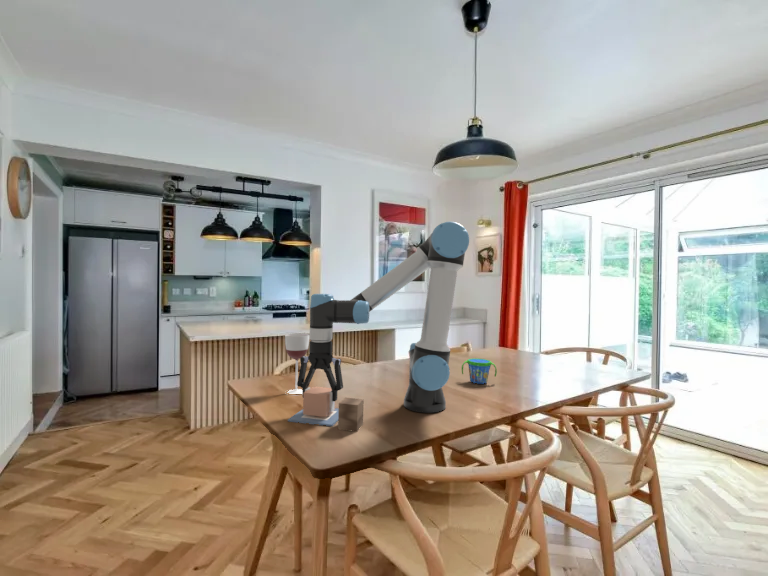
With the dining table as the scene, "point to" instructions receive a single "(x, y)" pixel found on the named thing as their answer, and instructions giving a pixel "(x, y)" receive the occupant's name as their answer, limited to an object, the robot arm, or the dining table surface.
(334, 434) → the dining table surface
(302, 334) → the wineglass
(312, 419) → the board
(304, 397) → the terracotta base
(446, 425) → the dining table surface
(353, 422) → the walnut column
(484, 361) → the snack cup
